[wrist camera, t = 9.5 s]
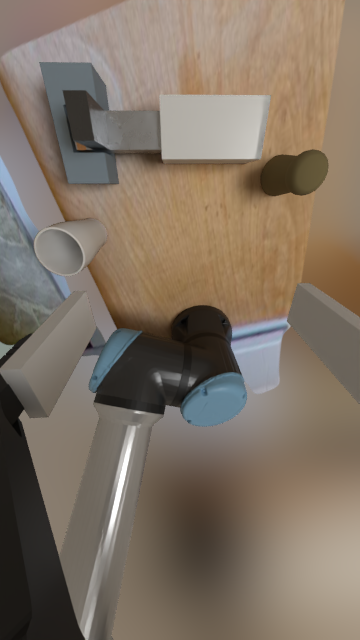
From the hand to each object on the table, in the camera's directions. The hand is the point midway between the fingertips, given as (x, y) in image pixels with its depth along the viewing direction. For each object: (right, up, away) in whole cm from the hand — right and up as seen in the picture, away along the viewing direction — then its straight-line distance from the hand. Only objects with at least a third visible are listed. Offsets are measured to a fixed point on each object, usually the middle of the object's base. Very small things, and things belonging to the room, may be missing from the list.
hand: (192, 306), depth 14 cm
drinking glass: (-17, +16, +28) cm, 37 cm away
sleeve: (+3, +28, +21) cm, 35 cm away
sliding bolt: (-7, +27, +19) cm, 34 cm away
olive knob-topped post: (+16, +25, +24) cm, 38 cm away
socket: (-14, +28, +20) cm, 37 cm away
